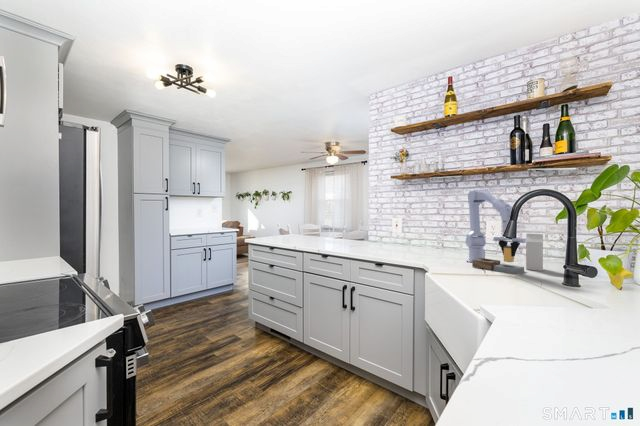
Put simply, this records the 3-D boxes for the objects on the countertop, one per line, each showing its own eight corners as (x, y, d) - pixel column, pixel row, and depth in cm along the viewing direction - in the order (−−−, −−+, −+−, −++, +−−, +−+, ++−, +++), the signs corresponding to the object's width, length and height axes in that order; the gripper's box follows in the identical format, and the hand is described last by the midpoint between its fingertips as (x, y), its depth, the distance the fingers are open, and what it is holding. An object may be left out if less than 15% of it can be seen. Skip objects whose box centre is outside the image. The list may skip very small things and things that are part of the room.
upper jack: (481, 265, 168) (481, 258, 168) (500, 267, 159) (500, 260, 159) (472, 266, 162) (472, 259, 162) (490, 270, 154) (490, 262, 154)
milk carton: (542, 271, 150) (543, 234, 150) (526, 269, 155) (526, 234, 154) (542, 268, 156) (542, 233, 156) (526, 267, 160) (526, 233, 160)
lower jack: (503, 268, 158) (503, 263, 158) (524, 271, 150) (524, 266, 150) (493, 270, 153) (493, 265, 153) (515, 274, 144) (515, 269, 144)
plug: (506, 260, 153) (506, 245, 153) (514, 261, 151) (514, 246, 150) (503, 261, 152) (503, 246, 151) (510, 262, 149) (510, 246, 149)
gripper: (490, 229, 155) (490, 254, 155) (521, 230, 143) (521, 258, 143) (497, 228, 159) (497, 253, 159) (527, 230, 147) (527, 257, 147)
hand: (508, 255), depth 151 cm, fingers closed on plug, 3 cm apart
